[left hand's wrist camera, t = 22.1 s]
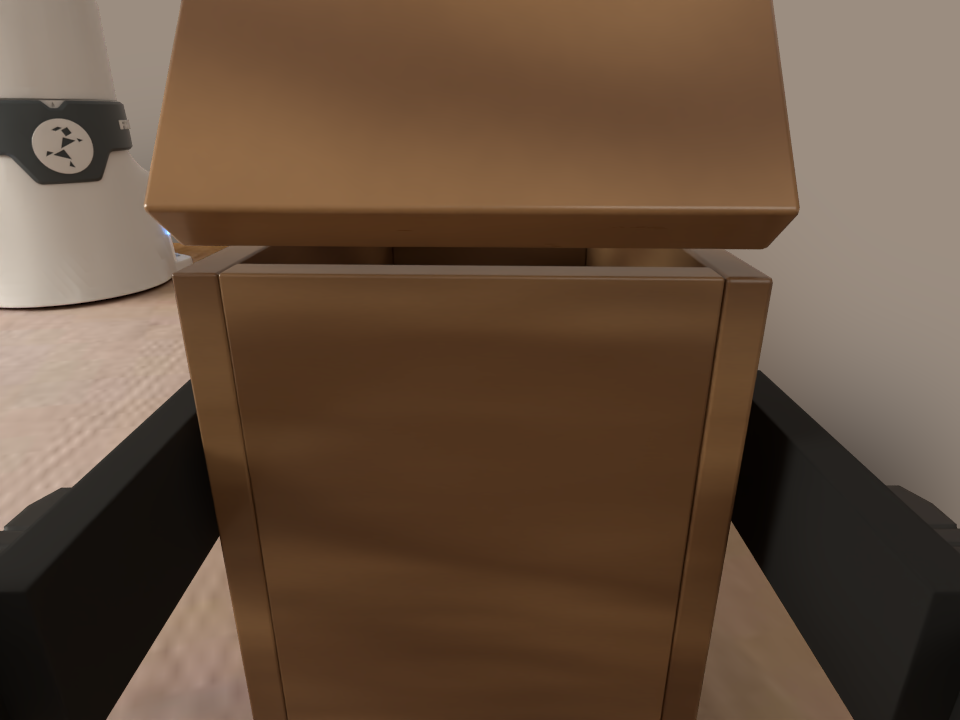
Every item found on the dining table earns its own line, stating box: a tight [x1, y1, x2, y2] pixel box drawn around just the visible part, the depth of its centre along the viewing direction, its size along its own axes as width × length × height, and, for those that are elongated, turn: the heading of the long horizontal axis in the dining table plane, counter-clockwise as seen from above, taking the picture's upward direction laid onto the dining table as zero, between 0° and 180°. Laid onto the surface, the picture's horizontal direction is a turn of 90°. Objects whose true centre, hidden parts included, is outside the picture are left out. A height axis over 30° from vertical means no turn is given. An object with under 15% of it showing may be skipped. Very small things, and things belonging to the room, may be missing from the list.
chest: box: [172, 246, 773, 720], centre depth 18 cm, size 16×9×11 cm, turn 178°
